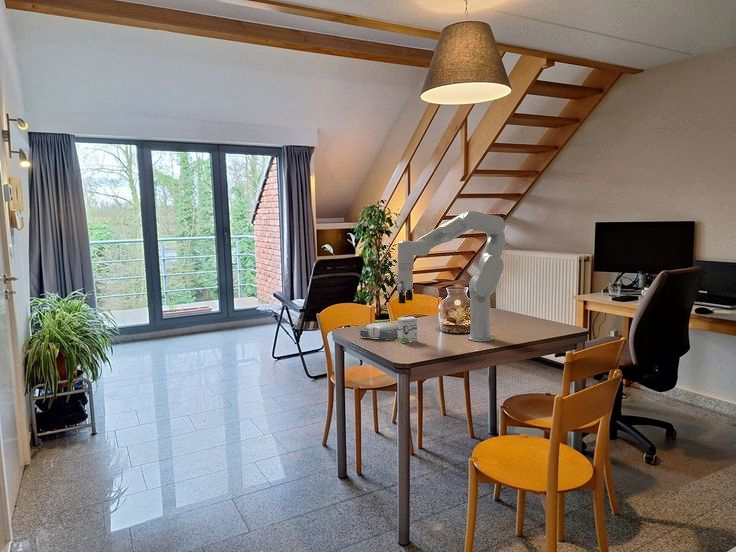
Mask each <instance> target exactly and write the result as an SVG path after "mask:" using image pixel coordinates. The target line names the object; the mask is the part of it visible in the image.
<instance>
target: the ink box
mask: <svg viewBox="0 0 736 552" xmlns="http://www.w3.org/2000/svg"><path fill="white" fill-rule="evenodd" d="M396 321H397V324H396V325H397V330H398V336H397V342H398V341H400V342H409V341H417V342H418V318H417V317H414V316H404V317H398V318H397V319H396ZM400 342H399V343H400ZM409 343H410V342H409Z"/></svg>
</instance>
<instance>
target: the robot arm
mask: <svg viewBox="0 0 736 552" xmlns="http://www.w3.org/2000/svg"><path fill="white" fill-rule="evenodd" d="M505 228H506V222H505V220H504V219H503V217H501V216H498V215H495V214H488V213H484V212H480V211H477V210H476V211H475V210H467V211H464V212H462V213H461V214H459V215H457V216H456V217H454V218H452V219H450V220H449V221H447V222H445V223H444V224H442V225H440V226H438V227H437V228H435V229H433V230H432V231H430V232H428V233H426V234H425V235H422V236H421V237H420V238H418V239H417V240H414V241H412V240H400V241H398V243H397V271H398V272H397V279H396V280H397V282H396V290H397V291H398V303H399V304H406V301H413V291H414V290H413V288H414V275H413V270H414V266H415V265H414V256H417V257H425V256H427V255H429V254H430V252H431V250H432V249H433V248H435V247H437V246H439V245H442V244H445V243H449V242H451V241H453V240H454V239H456V238H459V236H461V235H463V234H464V233H466V232H468V231H470V230H474V231H476V232H477V231H478V232H481V233H485V234H486V243H485V246H484V248H483V252H482V254H481V256H480V258H479V261H478V268H479V270H480V272H479V273H478V274H474V275H473V276H472V277H471V278H470V280H469V283H468V291H469V303H470V304H469V315H470V317H469V319H470V320H469V324H470V325H469V327H470V328H469V330H470V331H469V334H468V335H467V336H466V338H467V340H469V341H471V342H483V343H484V342H491V341H493V340H494V335H492V334H491V296H492V294H493V293H494V292H495V291H496V288H497V286H498V283H499V281H500V279H501V276H502V273H503V270H504V261H503V259H502V258H501V257H502V255H503V251H504V248H505V245H506V234H505V232H504V230H505Z"/></svg>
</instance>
